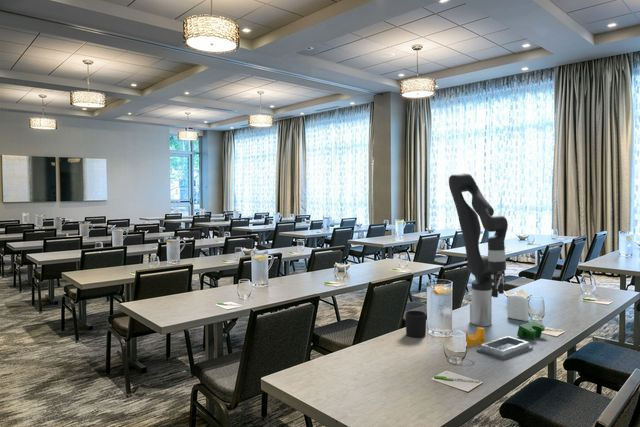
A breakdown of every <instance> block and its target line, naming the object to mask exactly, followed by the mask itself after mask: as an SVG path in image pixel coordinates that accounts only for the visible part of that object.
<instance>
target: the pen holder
mask: <svg viewBox="0 0 640 427" xmlns="http://www.w3.org/2000/svg"><path fill="white" fill-rule="evenodd" d="M404 316H405V334H406V336H407V337H410V338H417V339H419V338H424V337H425V336H426V334H427V333H426V332H427V314H426V313H425V312H424V311H422V310H421V311H420V310H409V311H406V312H405V314H404Z"/></svg>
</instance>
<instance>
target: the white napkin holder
mask: <svg viewBox="0 0 640 427" xmlns="http://www.w3.org/2000/svg"><path fill="white" fill-rule="evenodd" d="M506 300H507V302H506V304H507V305H506V306H507V309H506V310H507V314H506V315H507V318H509V319H513V320H517V321H518V320H519V321H522V322H523V321H524V322H529V318H530V317H529V315H530V314H529V298H528V297H527V296H524V295H521V294H509V295H508V296H507V299H506Z"/></svg>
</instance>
